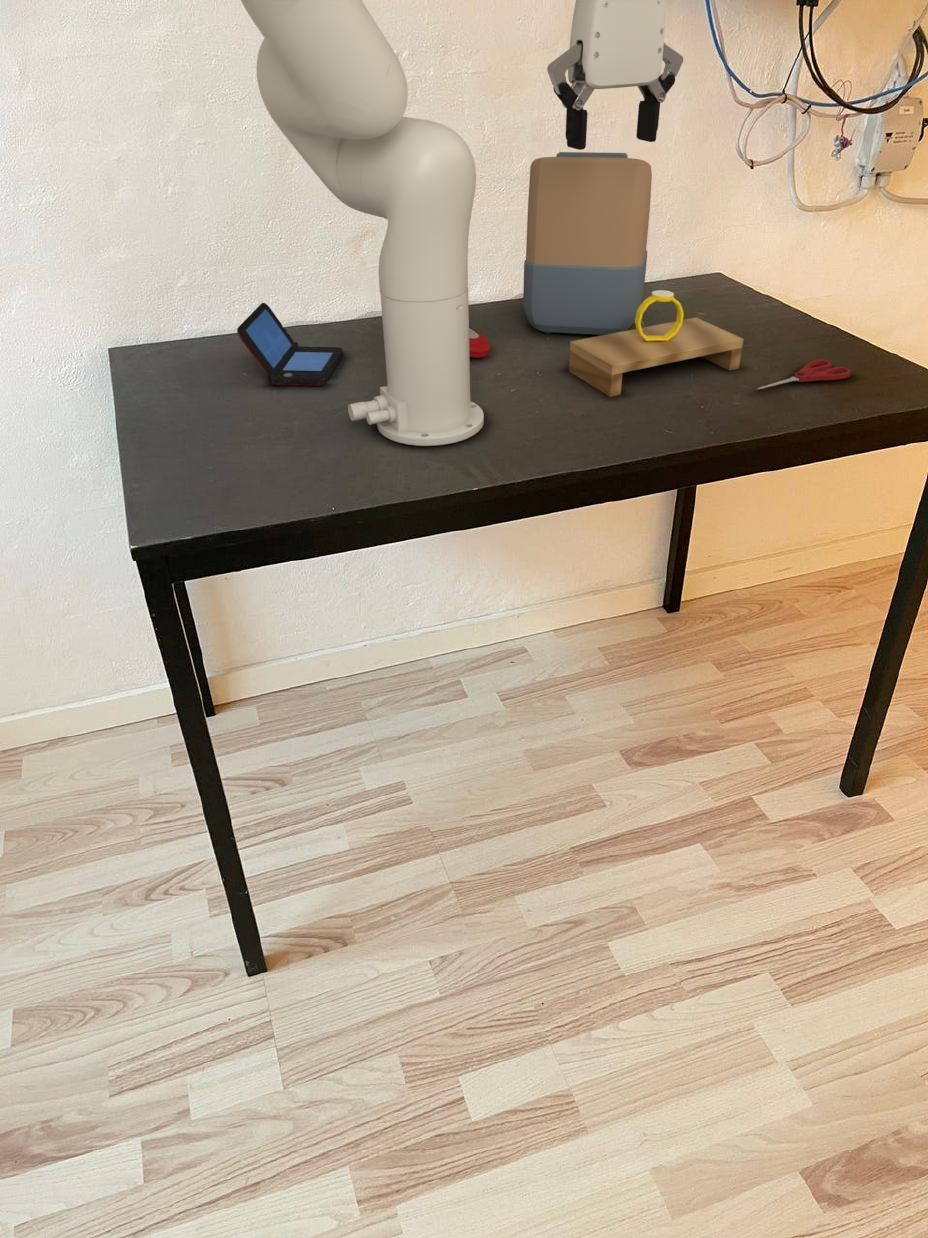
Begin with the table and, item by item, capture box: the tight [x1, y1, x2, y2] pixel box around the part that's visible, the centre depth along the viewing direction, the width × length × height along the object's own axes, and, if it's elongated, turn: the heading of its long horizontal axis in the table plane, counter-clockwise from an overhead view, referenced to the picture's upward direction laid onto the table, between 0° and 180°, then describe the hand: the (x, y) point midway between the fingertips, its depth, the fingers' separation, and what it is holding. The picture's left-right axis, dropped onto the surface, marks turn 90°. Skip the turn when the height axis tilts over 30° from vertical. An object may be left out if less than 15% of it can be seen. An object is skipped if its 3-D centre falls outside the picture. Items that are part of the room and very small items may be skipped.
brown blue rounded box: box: [522, 151, 653, 336], centre depth 127 cm, size 17×17×23 cm
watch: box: [634, 289, 684, 341], centre depth 113 cm, size 6×3×6 cm, turn 100°
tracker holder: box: [469, 326, 491, 359], centre depth 125 cm, size 12×4×10 cm
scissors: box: [756, 358, 852, 391], centre depth 113 cm, size 5×14×1 cm, turn 119°
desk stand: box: [568, 317, 744, 398], centre depth 116 cm, size 20×10×4 cm, turn 115°
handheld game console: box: [236, 302, 344, 387], centre depth 118 cm, size 12×11×7 cm
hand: (611, 143), depth 105 cm, fingers open, 9 cm apart
